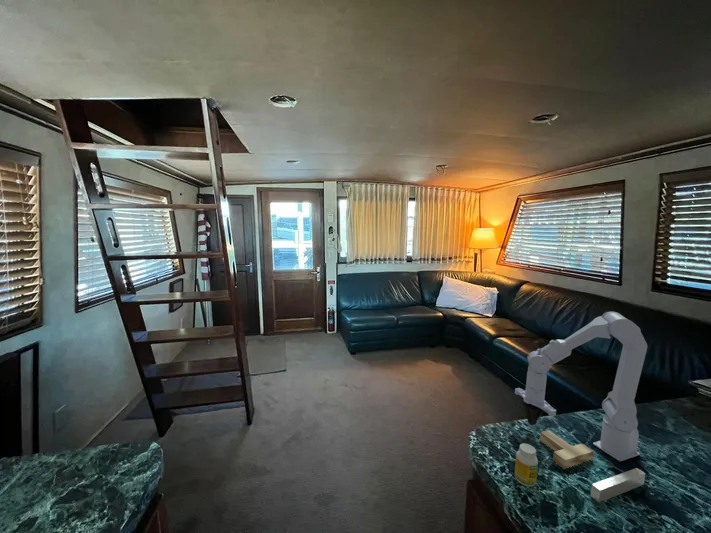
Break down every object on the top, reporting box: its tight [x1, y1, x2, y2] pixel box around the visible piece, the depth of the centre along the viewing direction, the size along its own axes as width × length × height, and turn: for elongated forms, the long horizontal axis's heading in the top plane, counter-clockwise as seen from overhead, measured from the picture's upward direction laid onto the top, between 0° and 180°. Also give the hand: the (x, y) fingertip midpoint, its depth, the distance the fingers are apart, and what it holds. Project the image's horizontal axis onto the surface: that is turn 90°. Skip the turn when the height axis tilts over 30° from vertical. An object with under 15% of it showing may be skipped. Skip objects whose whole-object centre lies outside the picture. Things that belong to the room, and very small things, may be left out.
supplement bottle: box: [514, 442, 539, 488], centre depth 84 cm, size 5×5×10 cm
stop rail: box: [590, 467, 646, 503], centre depth 82 cm, size 18×2×4 cm, turn 109°
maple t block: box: [539, 429, 594, 470], centre depth 96 cm, size 12×12×3 cm
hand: (531, 423), depth 106 cm, fingers closed
